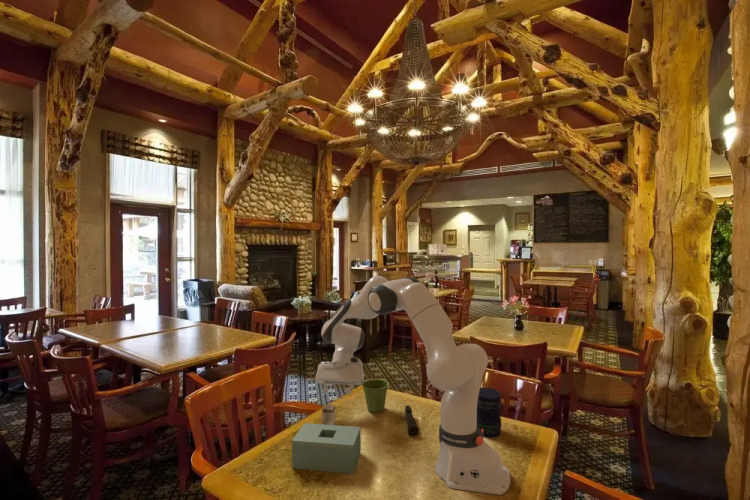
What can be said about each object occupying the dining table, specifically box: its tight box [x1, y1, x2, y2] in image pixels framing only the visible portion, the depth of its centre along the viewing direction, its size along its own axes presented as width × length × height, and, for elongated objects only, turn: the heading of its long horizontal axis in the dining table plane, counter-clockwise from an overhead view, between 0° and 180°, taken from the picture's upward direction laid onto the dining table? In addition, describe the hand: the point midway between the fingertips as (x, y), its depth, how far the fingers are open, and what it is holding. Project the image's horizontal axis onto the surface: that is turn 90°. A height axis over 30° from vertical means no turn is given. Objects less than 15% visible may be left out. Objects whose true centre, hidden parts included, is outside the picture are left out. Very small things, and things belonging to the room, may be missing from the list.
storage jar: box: [477, 387, 502, 439], centre depth 147 cm, size 10×10×15 cm
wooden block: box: [321, 404, 336, 425], centre depth 146 cm, size 4×4×10 cm
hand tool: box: [404, 404, 420, 437], centre depth 153 cm, size 19×4×5 cm, turn 0°
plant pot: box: [361, 378, 390, 414], centre depth 167 cm, size 12×12×11 cm
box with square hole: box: [291, 422, 362, 475], centre depth 128 cm, size 20×12×9 cm, turn 81°
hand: (336, 393), depth 158 cm, fingers open, 8 cm apart
